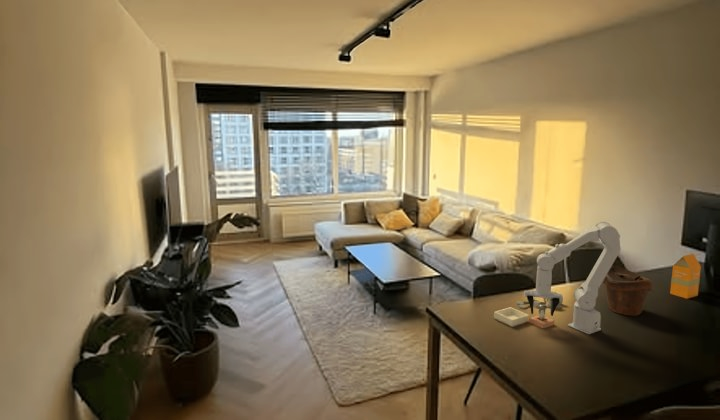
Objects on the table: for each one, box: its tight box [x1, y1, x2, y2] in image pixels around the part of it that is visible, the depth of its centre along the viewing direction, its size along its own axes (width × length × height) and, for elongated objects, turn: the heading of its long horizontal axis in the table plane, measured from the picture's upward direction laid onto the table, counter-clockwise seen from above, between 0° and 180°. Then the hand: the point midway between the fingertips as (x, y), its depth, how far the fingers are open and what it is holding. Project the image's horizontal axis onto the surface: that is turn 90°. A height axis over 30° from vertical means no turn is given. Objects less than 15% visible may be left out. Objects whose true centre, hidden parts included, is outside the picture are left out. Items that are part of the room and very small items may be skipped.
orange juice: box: [669, 253, 702, 300], centre depth 205 cm, size 8×9×20 cm
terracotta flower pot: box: [601, 266, 655, 316], centre depth 188 cm, size 18×20×18 cm
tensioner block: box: [528, 314, 556, 329], centre depth 178 cm, size 7×7×2 cm
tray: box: [493, 306, 530, 328], centre depth 182 cm, size 10×10×3 cm
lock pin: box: [537, 304, 548, 321], centre depth 178 cm, size 3×3×8 cm
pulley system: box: [516, 291, 564, 310], centre depth 199 cm, size 27×5×15 cm
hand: (541, 313), depth 178 cm, fingers open, 7 cm apart
